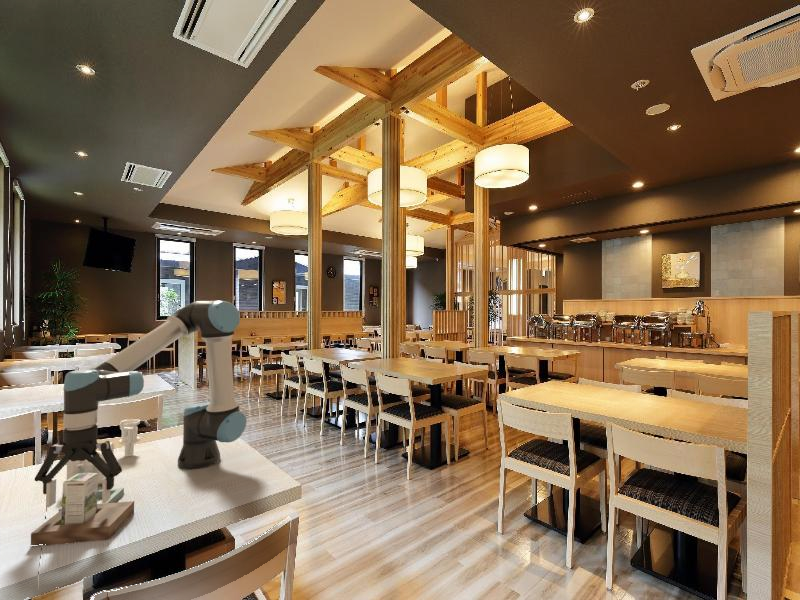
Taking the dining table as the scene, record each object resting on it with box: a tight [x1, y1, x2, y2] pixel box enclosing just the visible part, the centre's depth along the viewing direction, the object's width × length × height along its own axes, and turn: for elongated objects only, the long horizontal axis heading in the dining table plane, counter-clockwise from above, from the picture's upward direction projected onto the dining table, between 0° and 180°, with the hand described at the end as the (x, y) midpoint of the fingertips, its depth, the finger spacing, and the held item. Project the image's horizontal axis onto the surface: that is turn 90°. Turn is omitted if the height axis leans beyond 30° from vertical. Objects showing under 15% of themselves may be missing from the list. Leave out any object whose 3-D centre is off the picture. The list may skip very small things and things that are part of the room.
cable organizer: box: [65, 441, 114, 485], centre depth 140 cm, size 15×11×12 cm
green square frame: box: [58, 487, 125, 512], centre depth 124 cm, size 12×12×2 cm
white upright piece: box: [118, 419, 141, 457], centre depth 165 cm, size 7×7×15 cm
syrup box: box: [61, 473, 99, 525], centre depth 110 cm, size 6×6×14 cm
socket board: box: [30, 500, 135, 546], centre depth 110 cm, size 18×14×4 cm
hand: (78, 503), depth 110 cm, fingers open, 13 cm apart
